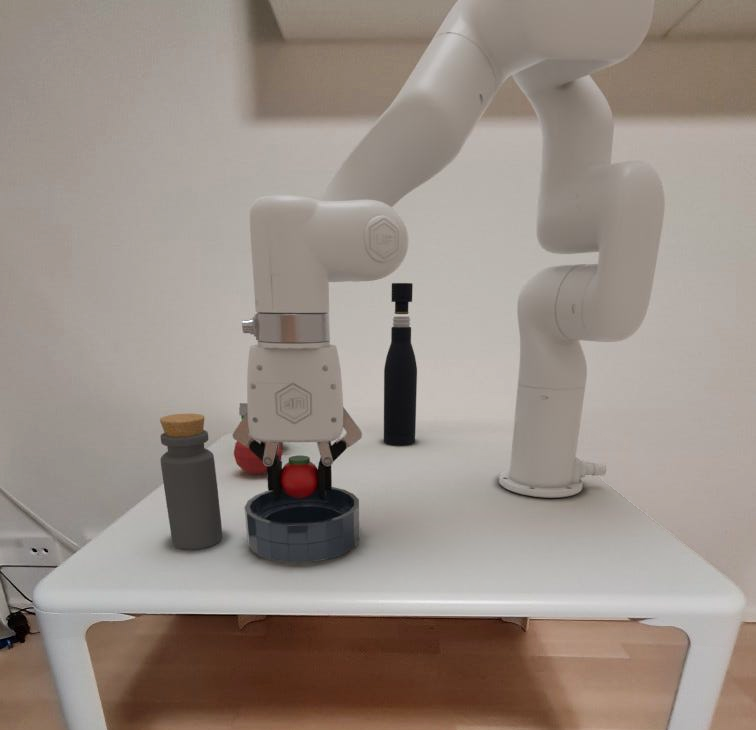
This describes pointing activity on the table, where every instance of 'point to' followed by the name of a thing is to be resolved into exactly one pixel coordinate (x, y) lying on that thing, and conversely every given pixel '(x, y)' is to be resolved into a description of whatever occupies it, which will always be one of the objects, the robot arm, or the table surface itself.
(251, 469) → the tomato
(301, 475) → the cherry tomato
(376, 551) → the table surface
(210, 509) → the bottle
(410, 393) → the black water bottle
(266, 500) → the bowl
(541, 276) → the robot arm
